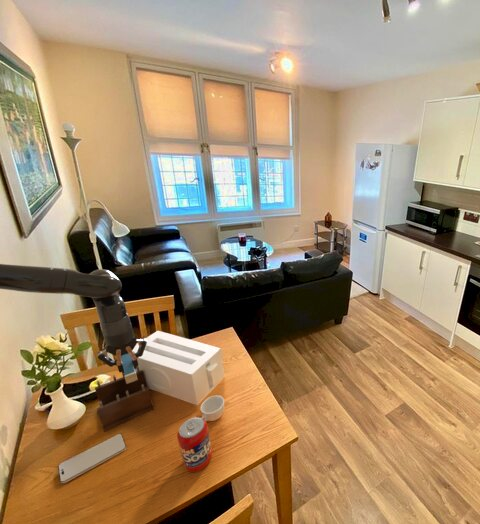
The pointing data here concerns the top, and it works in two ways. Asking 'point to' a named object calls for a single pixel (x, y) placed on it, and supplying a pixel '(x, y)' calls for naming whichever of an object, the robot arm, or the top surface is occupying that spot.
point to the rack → (123, 400)
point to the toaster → (180, 366)
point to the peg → (128, 368)
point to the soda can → (195, 444)
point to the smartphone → (91, 458)
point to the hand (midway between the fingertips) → (129, 369)
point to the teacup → (212, 408)
